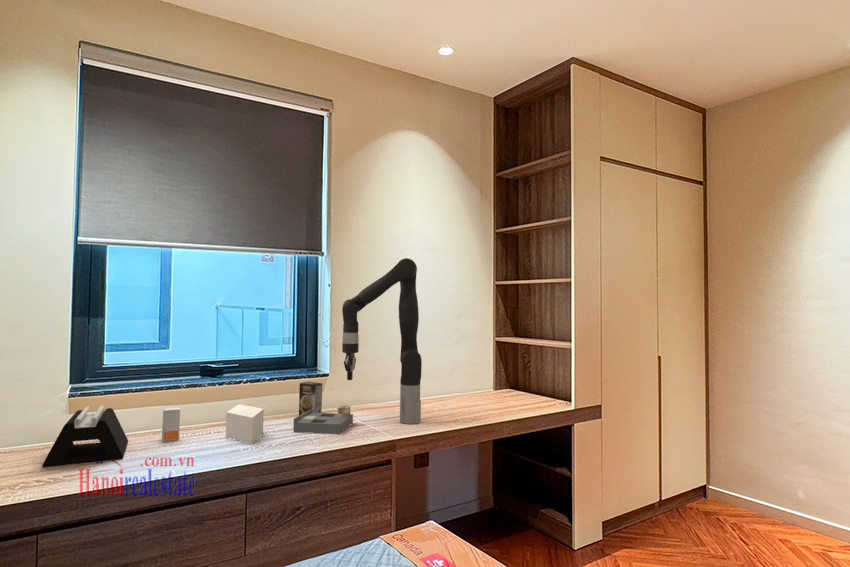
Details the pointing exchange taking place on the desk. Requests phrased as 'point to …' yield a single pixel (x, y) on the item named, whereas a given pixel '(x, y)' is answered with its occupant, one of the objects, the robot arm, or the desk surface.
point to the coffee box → (310, 397)
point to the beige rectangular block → (244, 423)
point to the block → (343, 411)
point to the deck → (321, 422)
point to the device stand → (88, 428)
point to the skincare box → (171, 424)
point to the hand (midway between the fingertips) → (349, 379)
